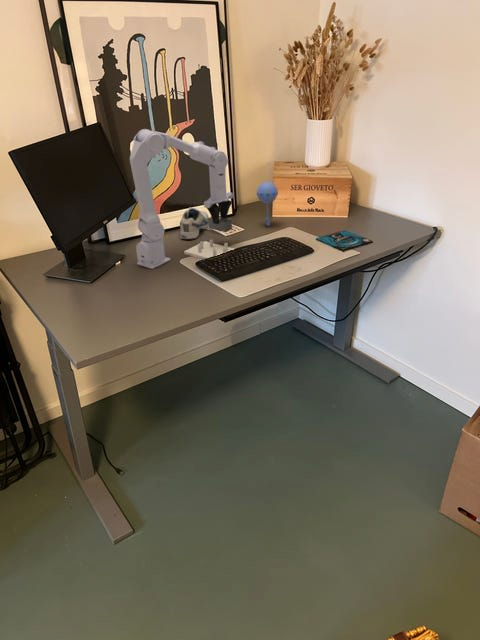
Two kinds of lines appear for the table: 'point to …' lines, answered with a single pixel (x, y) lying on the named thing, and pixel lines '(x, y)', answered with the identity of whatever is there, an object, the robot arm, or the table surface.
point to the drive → (221, 224)
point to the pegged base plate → (207, 249)
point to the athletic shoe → (193, 223)
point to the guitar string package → (344, 240)
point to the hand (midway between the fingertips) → (219, 221)
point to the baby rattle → (267, 195)
